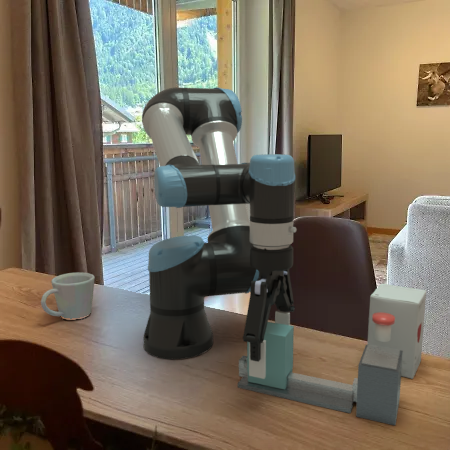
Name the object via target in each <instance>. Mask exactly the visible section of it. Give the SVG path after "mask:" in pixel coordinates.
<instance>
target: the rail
mask: <svg viewBox="0 0 450 450" xmlns="http://www.w3.org/2000/svg"><path fill="white" fill-rule="evenodd" d="M238 377H240V378H241V379H240V380H239V381H238V382H237V388H238V389H243V390H245V391H251V392H255V393H261V394H263V395H269V396H273V397H276V398H282V399H286V400H290V401H295V402H299V403H302V404H303V403H304V404H307V405H312V406H317V407H321V408H325V409H329V410H334V411H338V412H343V413H347V414H351V412H352V410H353V406H354V404H355V403H357V385H358V377H354V378H353V381H352V384H349V383H345V382H340V381H335V380H330V379H325V378H320V377H317V376H316V377H315V376H312V375H311V376H310V375H305V374H301V373H296V372H293V371H292V372H289V374H288V375H287V387H286V389H285V390H284V389H279V388H275V387H270V386H266V385H261V384H257V383H252V382H248V372H247V355H242V356H241V357H239V359H238Z"/></svg>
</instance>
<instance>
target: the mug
mask: <svg viewBox="0 0 450 450" xmlns="http://www.w3.org/2000/svg"><path fill="white" fill-rule="evenodd" d="M50 283H51V287H52V288H51V289H48V290H47V291H45V292H44V293H43V294H42V296H41V300H40V305H41V308H42V309H43V311H44V312H45V313H46V314H48V315H50V316H51V317H52V316H53V317H60V316H62V317H64V318H70V319H72V318H80V317H84V316H87V315H89V314H90V313H91V314H92V308H93V297H94V288H95V275H94V274H92V273H89V272H69V273H63V274H60V275H57V276H55V277H53V278H52V279H51V281H50ZM52 294H53V295H54V298H55V301H56V306H57V307H56V308H57V310H58V311H57V310H52V309H50V308H49V307H48V306H47V302H46V301H47V299H48V297H49V296H50V295H52Z"/></svg>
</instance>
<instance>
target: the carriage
mask: <svg viewBox="0 0 450 450" xmlns="http://www.w3.org/2000/svg"><path fill="white" fill-rule="evenodd" d="M294 326H295V325H291V324H290V325H284V324H278V323H275V322H272V321H268V323H267V327H266V331H265V336H264V340H266V377H265V378H264V379H262V378H258V377H253V376H249V342H246V343H247V345H246V346H247V349H246V352H247V354H246V356H247V372H248V382H252V383H257V384H261V385H266V386H270V387H275V388H279V389H284V390H285V389H286V387H287V375H288V374H289V372H292V373H293V368H294V333H295V332H294V330H295V329H294Z"/></svg>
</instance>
